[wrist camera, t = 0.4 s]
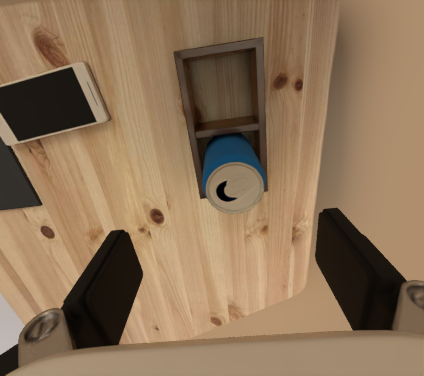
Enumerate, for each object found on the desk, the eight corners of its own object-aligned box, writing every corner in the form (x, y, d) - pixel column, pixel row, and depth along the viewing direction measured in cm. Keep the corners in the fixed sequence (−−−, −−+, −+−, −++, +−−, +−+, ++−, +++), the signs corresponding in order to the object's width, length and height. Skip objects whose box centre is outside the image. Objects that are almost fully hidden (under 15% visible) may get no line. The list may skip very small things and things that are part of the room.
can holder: (180, 54, 27) (173, 51, 23) (255, 42, 27) (263, 37, 22) (202, 183, 35) (200, 199, 30) (261, 176, 34) (267, 191, 30)
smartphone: (-23, 92, 29) (-30, 92, 28) (86, 60, 27) (82, 60, 27) (11, 144, 32) (6, 146, 32) (111, 119, 31) (108, 121, 30)
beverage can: (197, 142, 32) (188, 178, 21) (238, 119, 31) (251, 145, 20) (219, 179, 35) (221, 226, 24) (258, 159, 33) (278, 201, 22)
